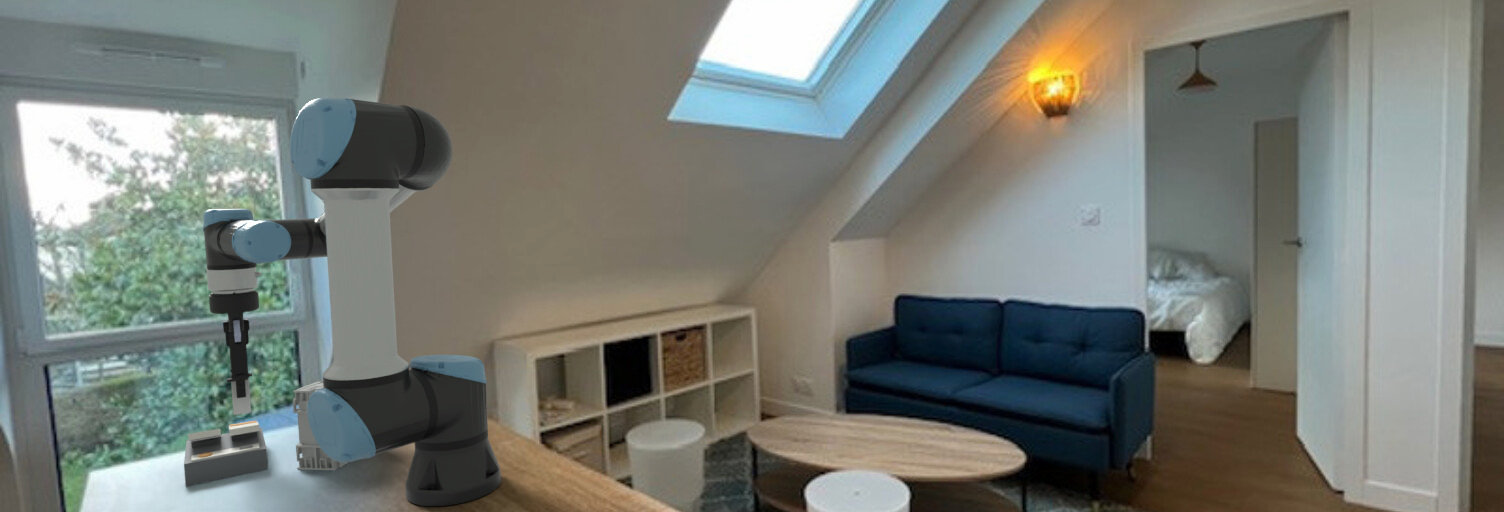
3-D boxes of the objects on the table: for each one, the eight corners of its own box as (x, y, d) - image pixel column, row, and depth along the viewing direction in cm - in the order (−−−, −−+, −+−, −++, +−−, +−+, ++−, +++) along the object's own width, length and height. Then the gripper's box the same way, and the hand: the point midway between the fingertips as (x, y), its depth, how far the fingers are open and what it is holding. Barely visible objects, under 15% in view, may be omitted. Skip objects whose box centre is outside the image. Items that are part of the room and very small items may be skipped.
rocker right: (259, 430, 134) (258, 423, 134) (229, 436, 131) (229, 428, 131) (257, 426, 142) (257, 420, 142) (229, 431, 139) (228, 425, 139)
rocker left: (220, 435, 130) (219, 427, 130) (188, 440, 127) (188, 433, 128) (220, 435, 138) (220, 429, 138) (191, 441, 135) (190, 434, 135)
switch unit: (267, 469, 131) (266, 443, 130) (185, 486, 124) (183, 459, 123) (263, 446, 143) (261, 423, 143) (188, 460, 136) (186, 435, 136)
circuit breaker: (382, 443, 144) (378, 372, 143) (334, 470, 130) (329, 391, 129) (348, 443, 145) (344, 372, 144) (297, 469, 131) (292, 390, 129)
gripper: (259, 292, 129) (268, 417, 131) (256, 285, 139) (264, 401, 141) (208, 296, 124) (217, 425, 126) (208, 288, 134) (217, 408, 136)
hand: (242, 412), depth 134 cm, fingers closed
